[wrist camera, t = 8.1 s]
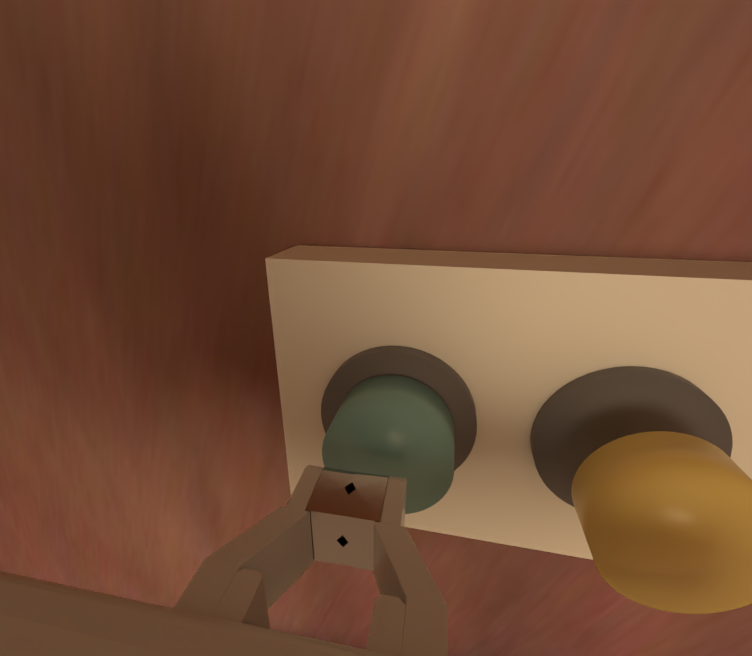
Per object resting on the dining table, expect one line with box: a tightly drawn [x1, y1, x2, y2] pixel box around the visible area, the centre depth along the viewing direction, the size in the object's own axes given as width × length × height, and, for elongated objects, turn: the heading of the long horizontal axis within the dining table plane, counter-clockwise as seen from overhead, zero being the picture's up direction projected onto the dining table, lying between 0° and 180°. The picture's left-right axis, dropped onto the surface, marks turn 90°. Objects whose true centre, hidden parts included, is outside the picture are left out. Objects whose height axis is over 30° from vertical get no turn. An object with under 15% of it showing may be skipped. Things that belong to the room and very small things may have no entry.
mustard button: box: [571, 431, 752, 614], centre depth 10 cm, size 4×4×2 cm
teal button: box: [322, 375, 455, 514], centre depth 13 cm, size 4×4×2 cm
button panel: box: [265, 245, 752, 560], centre depth 14 cm, size 26×12×4 cm, turn 90°
